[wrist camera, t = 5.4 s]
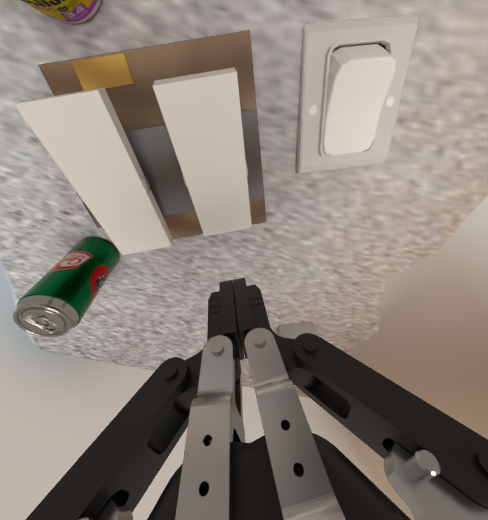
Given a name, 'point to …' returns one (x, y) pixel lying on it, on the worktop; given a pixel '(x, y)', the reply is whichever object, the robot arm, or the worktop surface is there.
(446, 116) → the worktop surface
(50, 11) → the supplement bottle
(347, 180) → the worktop surface
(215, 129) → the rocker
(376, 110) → the light switch
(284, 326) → the tea bag
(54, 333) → the soda can
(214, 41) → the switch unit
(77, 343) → the worktop surface
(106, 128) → the block
